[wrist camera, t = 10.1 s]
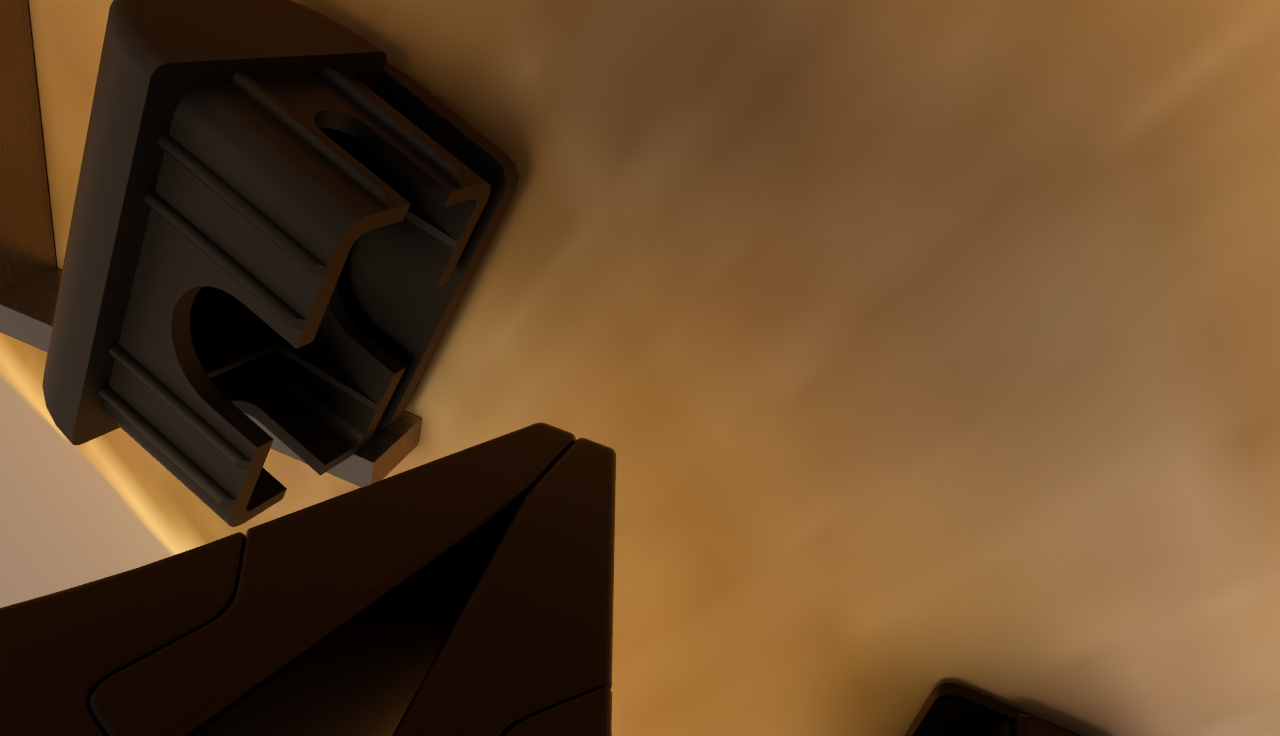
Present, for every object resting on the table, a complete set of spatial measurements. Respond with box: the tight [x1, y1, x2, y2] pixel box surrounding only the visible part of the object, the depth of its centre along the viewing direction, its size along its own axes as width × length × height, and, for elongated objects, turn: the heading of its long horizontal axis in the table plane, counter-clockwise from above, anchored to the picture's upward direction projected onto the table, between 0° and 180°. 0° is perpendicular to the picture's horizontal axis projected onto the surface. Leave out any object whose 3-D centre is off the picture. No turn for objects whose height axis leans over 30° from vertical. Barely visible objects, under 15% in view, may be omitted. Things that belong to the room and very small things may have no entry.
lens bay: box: [0, 0, 421, 487], centre depth 21 cm, size 17×14×3 cm
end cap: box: [43, 0, 519, 527], centre depth 20 cm, size 10×7×7 cm
